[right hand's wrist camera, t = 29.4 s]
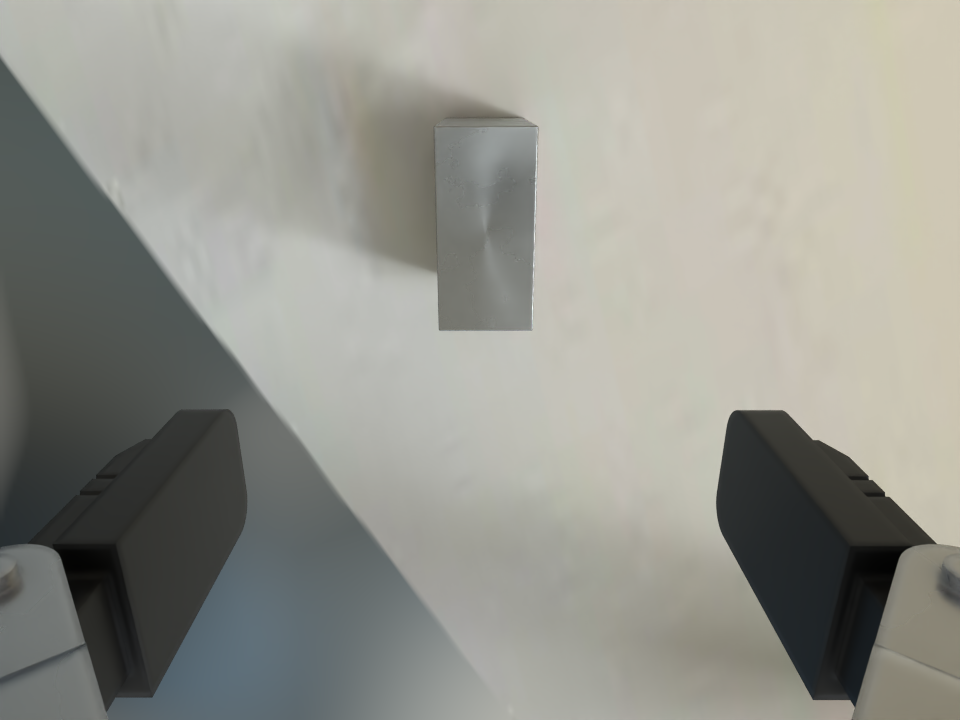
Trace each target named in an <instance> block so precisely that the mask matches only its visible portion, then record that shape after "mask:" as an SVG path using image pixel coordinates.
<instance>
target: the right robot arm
mask: <svg viewBox="0 0 960 720" xmlns="http://www.w3.org/2000/svg"><path fill="white" fill-rule="evenodd" d="M868 477H869V476H868V475H867V474H866V473H865V472H864V471H863V470H862V469H861V468H860V467H859V466H858V465H857V464H856V463H855V462H854V461H853V460H852V459H851V458H850V457H848V456H846V455H845V454H843V453H841V452H839V451H837V450H835V449H834V448H832V447H830V446H828V445H826V444H825V443H823V442H821V441H819V440H812V439H811V438H810V437H809V436H808V435H807V433H806V432H805V431H804V430H803V429H802V428H801V427H800V426H799V425H798V424H797V423H796V422H795V421H794V420H793V419H792V418H791V417H790V416H789V415H788V414H787V413H786V412H785V411H783V410H736V411H734V412H733V413H732V414H731V415H730V417H729V420H728V424H727V429H726V436H725V442H724V449H723V456H722V462H721V469H720V476H719V482H718V489H717V497H716V509H717V518H718V523H719V527H720V530H721V532H722V534H723V536H724V538H725V540H726V542H727V544H728V546H729V547H730V549H731V551H732V553H733V555H734V556H735V558H736V560H737V562H738V564H739V566H740V567H741V569H742V571H743V573H744V575H745V577H746V578H747V580H748V582H749V584H750V586H751V588H752V589H753V591H754V593H755V595H756V597H757V598H758V600H759V602H760V604H761V606H762V608H763V609H764V611H765V613H766V615H767V617H768V619H769V620H770V622H771V624H772V626H773V628H774V629H775V631H776V633H777V635H778V637H779V639H780V640H781V642H782V644H783V646H784V648H785V650H786V651H787V653H788V655H789V657H790V659H791V660H792V662H793V664H794V666H795V668H796V670H797V671H798V673H799V675H800V677H801V679H802V681H803V682H804V684H805V686H806V688H807V690H808V691H809V693H810V695H811V697H812V699H813V700H851V702H852V703H853V705H854V707H855V710H854V713H853V717H852V720H960V548H959V547H954V546H949V545H940V544H936V543H935V542H934V541H933V540H932V539H931V538H930V537H929V536H928V535H927V534H926V533H925V532H924V531H923V530H922V529H921V528H920V527H919V526H918V525H917V524H916V523H915V522H914V521H913V520H912V519H911V518H910V517H909V516H908V515H907V514H906V513H905V512H904V511H903V510H902V509H901V508H900V507H899V506H898V505H897V504H896V503H895V502H894V501H893V500H892V499H891V498H890V497H885V492H884V491H883V490H882V489H881V488H880V487H879V486H878V485H877V484H876V483H875V482H874V481H873V480H869V479H868ZM246 513H247V491H246V484H245V477H244V470H243V464H242V457H241V450H240V443H239V437H238V430H237V424H236V420H235V417H234V415H233V413H232V412H231V411H230V410H228V409H182V410H179V411H178V412H177V413H176V414H175V415H174V416H173V417H172V418H171V419H170V420H169V421H168V422H167V423H166V424H165V425H164V427H163V428H162V429H161V430H160V431H159V432H158V433H157V434H156V435H155V436H154V437H153V438H152V439H145V440H143V441H141V442H139V443H138V444H136V445H134V446H132V447H130V448H129V449H127V450H125V451H123V452H121V453H120V454H118V455H116V456H115V457H114V458H113V459H112V460H111V461H110V462H109V463H108V464H107V465H106V466H105V467H104V468H103V469H102V470H101V471H100V472H99V473H98V474H97V475H96V479H92V480H91V481H90V482H89V483H88V484H87V485H86V486H85V487H84V488H83V489H82V490H81V491H80V495H76V496H75V497H74V498H73V499H72V500H71V501H70V502H69V503H68V504H67V505H66V506H65V507H64V508H63V509H62V510H61V511H60V512H59V513H58V514H57V515H56V516H55V517H54V518H53V519H52V520H51V521H50V522H49V523H48V524H47V525H46V526H45V527H44V528H43V529H42V530H41V531H40V532H39V533H38V534H37V535H36V536H35V537H34V538H33V539H32V540H31V541H30V542H29V543H28V544H20V545H11V546H6V547H1V548H0V720H108V717H107V714H106V712H107V710H108V709H109V707H110V706H111V704H112V702H113V701H114V699H115V697H153V695H154V693H155V691H156V690H157V688H158V686H159V684H160V682H161V680H162V679H163V677H164V675H165V673H166V671H167V669H168V667H169V666H170V664H171V662H172V660H173V658H174V656H175V655H176V653H177V651H178V649H179V647H180V645H181V643H182V642H183V640H184V638H185V636H186V634H187V632H188V630H189V629H190V627H191V625H192V623H193V621H194V619H195V618H196V616H197V614H198V612H199V610H200V608H201V607H202V605H203V603H204V601H205V599H206V597H207V595H208V594H209V592H210V590H211V588H212V586H213V584H214V582H215V581H216V579H217V577H218V575H219V573H220V571H221V570H222V568H223V566H224V564H225V562H226V560H227V559H228V557H229V555H230V553H231V551H232V549H233V547H234V546H235V544H236V542H237V540H238V538H239V536H240V534H241V532H242V530H243V527H244V524H245V519H246Z"/></svg>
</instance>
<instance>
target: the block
mask: <svg viewBox="0 0 960 720" xmlns="http://www.w3.org/2000/svg"><path fill="white" fill-rule="evenodd" d="M434 154H435V194H436V234H437V274H438V314H439V330H440V331H532V330H533V299H534V264H535V229H536V194H537V159H538V126H536V125H535V124H533V123H531V122H530V121H528V120H526V119H524V118H445V119H444V120H443V121H441V122H440V123H438V124H437V125H436V126H434Z"/></svg>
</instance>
